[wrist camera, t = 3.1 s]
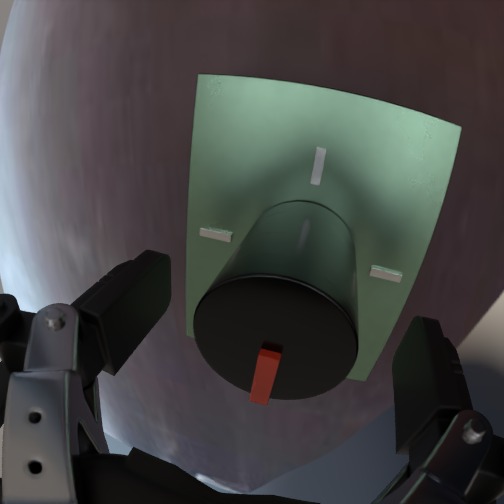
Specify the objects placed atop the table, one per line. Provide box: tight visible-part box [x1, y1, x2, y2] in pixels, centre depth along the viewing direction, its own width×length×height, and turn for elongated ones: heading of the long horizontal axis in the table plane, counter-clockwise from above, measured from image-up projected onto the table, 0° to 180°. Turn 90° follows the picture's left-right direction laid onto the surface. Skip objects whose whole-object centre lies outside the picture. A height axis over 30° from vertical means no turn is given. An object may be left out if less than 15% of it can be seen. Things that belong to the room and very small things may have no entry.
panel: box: [186, 73, 462, 382], centre depth 14 cm, size 13×10×3 cm
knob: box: [193, 201, 359, 405], centre depth 10 cm, size 4×4×6 cm
